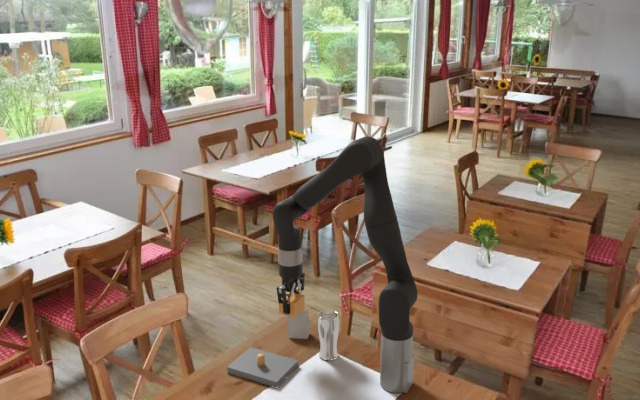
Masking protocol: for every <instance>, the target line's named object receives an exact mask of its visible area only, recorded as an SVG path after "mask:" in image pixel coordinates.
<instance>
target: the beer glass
mask: <svg viewBox="0 0 640 400" xmlns="http://www.w3.org/2000/svg"><path fill="white" fill-rule="evenodd" d="M316 325H317V326H316V327H317V335H318V340H319V345H320V348H319V354H318V355H319V356H320V357H321V358H322V359H326V360H331V359H334V358H336V357H337V355H338V356H339V354H338V349H337V344H338V343H337V342H338V338H339V333H340V332H339V331H340V318H339V313H338V312H337V311H335V310H332V309H324V310H322V311H319V312H318V313H317V324H316ZM319 356H318V357H319ZM320 357H319V358H320ZM321 358H320V359H321ZM337 358H338V357H337ZM337 358H336V359H337ZM322 359H321V360H322Z"/></svg>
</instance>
